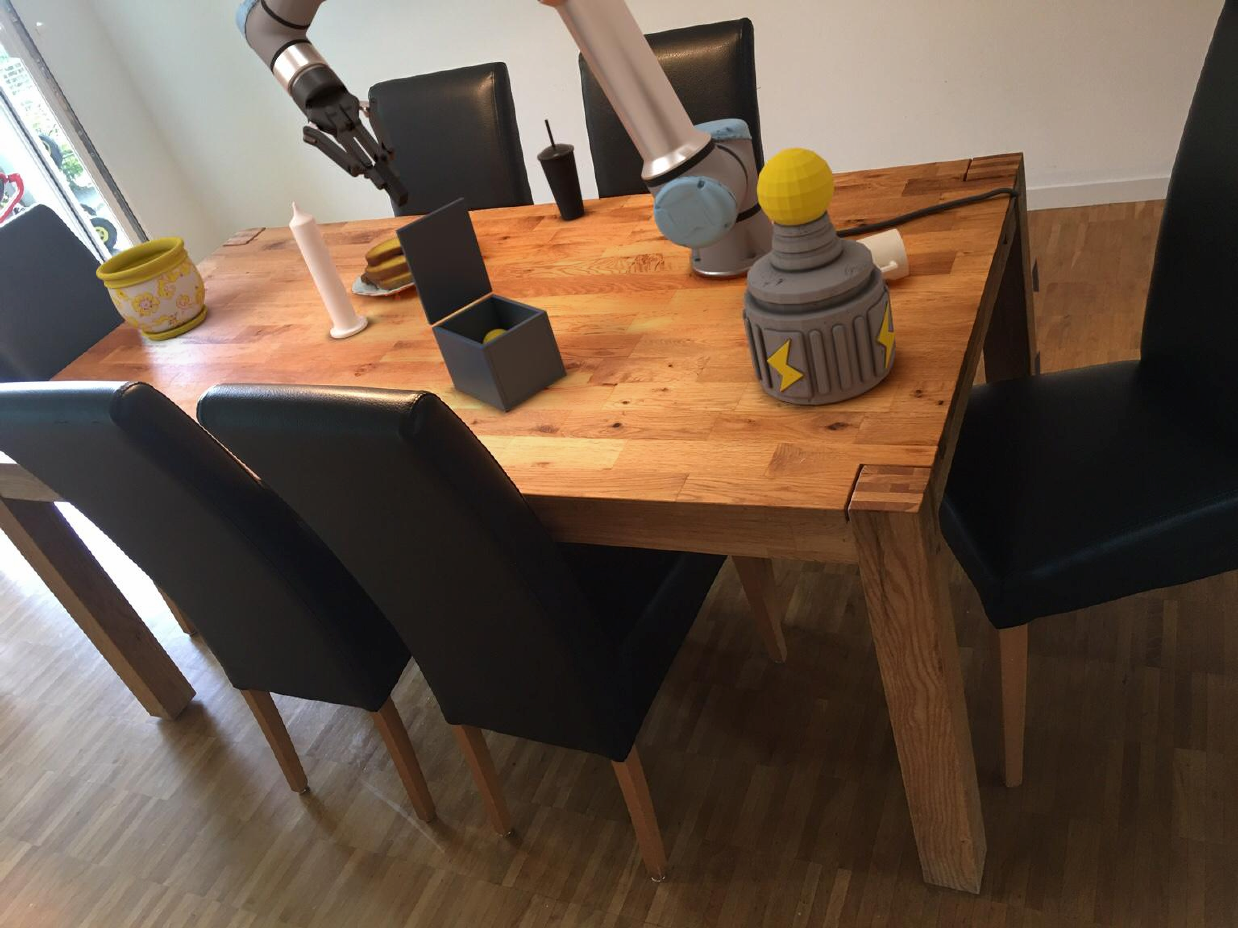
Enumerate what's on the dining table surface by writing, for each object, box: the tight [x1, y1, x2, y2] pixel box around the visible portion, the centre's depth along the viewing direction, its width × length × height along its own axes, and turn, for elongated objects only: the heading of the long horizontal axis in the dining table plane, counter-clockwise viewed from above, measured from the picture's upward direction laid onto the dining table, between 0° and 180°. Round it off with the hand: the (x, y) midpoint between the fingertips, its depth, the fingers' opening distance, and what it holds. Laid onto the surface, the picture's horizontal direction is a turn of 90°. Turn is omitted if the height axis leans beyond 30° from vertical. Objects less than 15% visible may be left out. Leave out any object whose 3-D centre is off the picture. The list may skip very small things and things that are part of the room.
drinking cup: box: [536, 118, 586, 222], centre depth 205 cm, size 8×8×20 cm
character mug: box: [856, 228, 910, 283], centre depth 150 cm, size 11×7×13 cm
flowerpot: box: [95, 236, 208, 341], centre depth 213 cm, size 18×18×16 cm
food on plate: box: [350, 236, 415, 304], centre depth 204 cm, size 25×25×7 cm
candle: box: [288, 202, 368, 339], centre depth 184 cm, size 7×7×25 cm
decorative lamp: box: [741, 147, 897, 406], centre depth 127 cm, size 19×19×30 cm
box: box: [431, 293, 568, 413], centre depth 153 cm, size 15×12×11 cm
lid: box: [395, 197, 494, 326], centre depth 151 cm, size 15×12×1 cm
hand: (403, 200), depth 151 cm, fingers closed
